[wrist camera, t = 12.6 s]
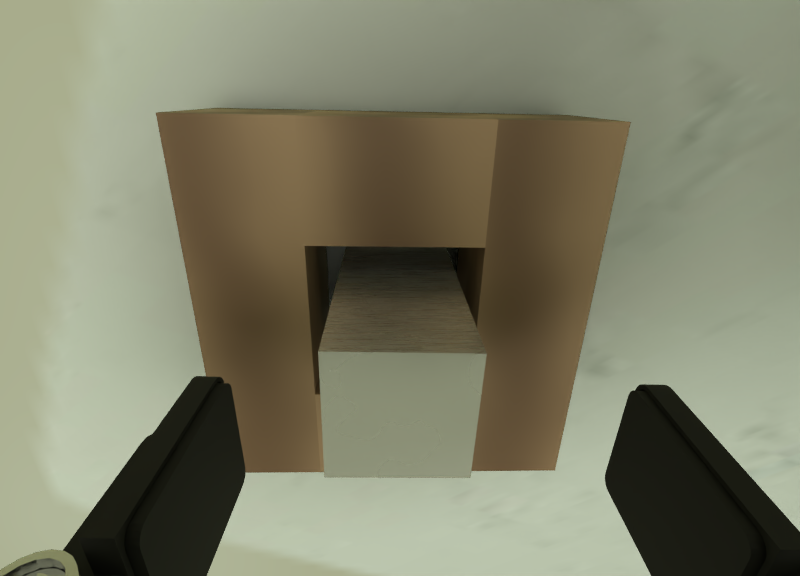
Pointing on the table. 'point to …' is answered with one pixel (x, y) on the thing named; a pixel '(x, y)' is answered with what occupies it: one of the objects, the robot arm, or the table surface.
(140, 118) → the table surface
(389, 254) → the square peg
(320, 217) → the socket block
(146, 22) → the table surface
